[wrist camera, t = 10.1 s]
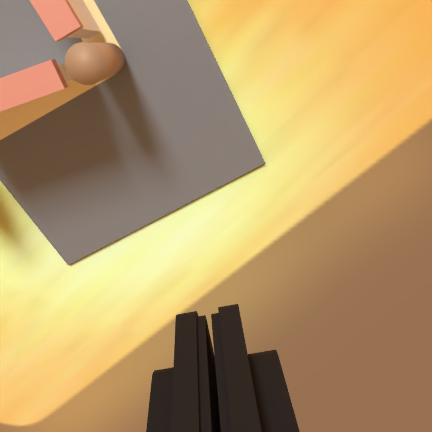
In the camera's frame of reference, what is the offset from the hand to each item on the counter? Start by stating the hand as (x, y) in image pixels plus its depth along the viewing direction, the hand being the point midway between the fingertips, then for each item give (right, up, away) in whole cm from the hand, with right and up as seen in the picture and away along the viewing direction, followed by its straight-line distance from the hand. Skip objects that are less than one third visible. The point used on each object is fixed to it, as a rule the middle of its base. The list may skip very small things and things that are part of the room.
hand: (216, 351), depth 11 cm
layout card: (-11, +14, +20) cm, 26 cm away
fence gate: (-14, +13, +19) cm, 27 cm away
